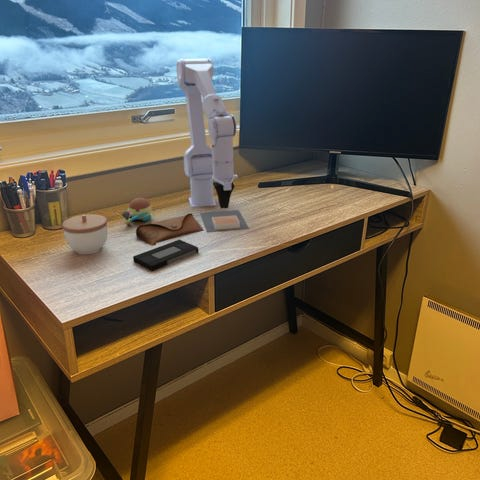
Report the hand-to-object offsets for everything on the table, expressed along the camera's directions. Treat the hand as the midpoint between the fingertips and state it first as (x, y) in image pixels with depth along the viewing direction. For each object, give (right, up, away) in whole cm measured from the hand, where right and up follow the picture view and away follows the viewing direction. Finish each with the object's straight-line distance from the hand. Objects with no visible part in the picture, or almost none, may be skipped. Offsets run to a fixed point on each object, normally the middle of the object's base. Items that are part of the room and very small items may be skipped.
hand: (224, 207), depth 137 cm
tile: (0, -3, +2) cm, 4 cm away
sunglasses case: (-14, -8, -4) cm, 17 cm away
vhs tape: (-14, -14, -19) cm, 27 cm away
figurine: (-26, -4, +5) cm, 27 cm away
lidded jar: (-34, -12, -14) cm, 39 cm away
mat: (0, -4, +3) cm, 5 cm away
